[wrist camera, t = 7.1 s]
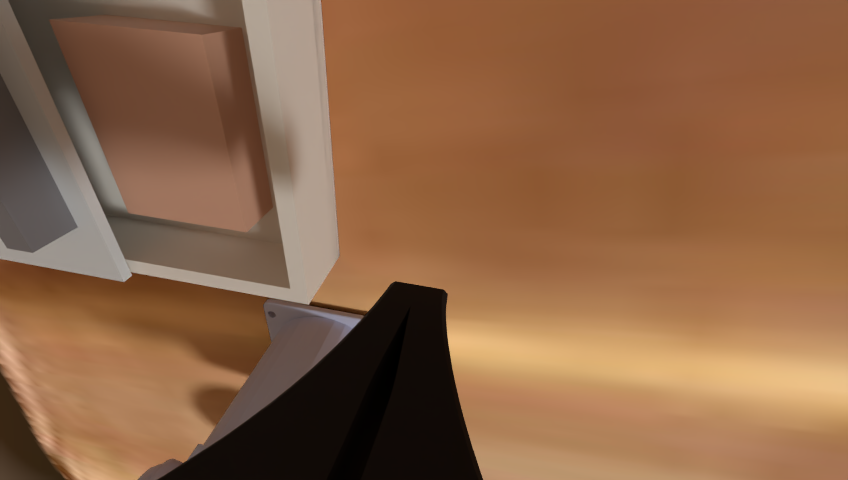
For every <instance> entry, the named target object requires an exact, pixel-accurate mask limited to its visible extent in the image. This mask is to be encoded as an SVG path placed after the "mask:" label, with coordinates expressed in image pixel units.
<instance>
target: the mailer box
mask: <svg viewBox="0 0 848 480" xmlns="http://www.w3.org/2000/svg"><path fill="white" fill-rule="evenodd" d="M8 1H9V4H10V6H11V8H12V10H13V12H14V15H15V17H16V19H17V21H18V24H19V26H20V28H21V30H22V32H23V35H24V37H25V39H26V41H27V43H28V46H29V48H30V50H31V52H32V55H33V57H34V59H35V61H36V63H37V66H38V68H39V70H40V72H41V74H42V77H43V79H44V81H45V83H46V86H47V88H48V90H49V92H50V94H51V97H52V99H53V101H54V103H55V106H56V108H57V110H58V112H59V114H60V117H61V119H62V121H63V123H64V125H65V128H66V130H67V132H68V134H69V137H70V139H71V141H72V143H73V145H74V148H75V150H76V152H77V154H78V156H79V159H80V161H81V163H82V165H83V168H84V170H85V172H86V174H87V176H88V179H89V181H90V183H91V185H92V188H93V190H94V192H95V194H96V196H97V199H98V201H99V203H100V205H101V207H102V210H103V212H104V214H105V216H106V219H107V221H108V223H109V225H110V227H111V230H112V232H113V234H114V236H115V238H116V241H117V243H118V245H119V247H120V250H121V252H122V254H123V256H124V258H125V261H126V263H127V265H128V267H129V270H130V272H133V273H138V274H144V275H149V276H155V277H160V278H165V279H171V280H176V281H182V282H187V283H193V284H198V285H204V286H209V287H215V288H220V289H225V290H231V291H236V292H242V293H247V294H253V295H258V296H264V297H269V298H275V299H280V300H285V301H291V302H296V303H302V304H307V305H309V303H310V302H311V300H312V299H313V297H314V295H315V294H316V292H317V291H318V289H319V288H320V286H321V284H322V283H323V281H324V280H325V278H326V276H327V275H328V273H329V272H330V270H331V269H332V267H333V265H334V264H335V262H336V261H337V259H338V257H339V242H338V228H337V215H336V201H335V187H334V174H333V160H332V146H331V133H330V119H329V105H328V92H327V78H326V64H325V51H324V37H323V23H322V9H321V0H8Z"/></svg>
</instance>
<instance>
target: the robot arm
mask: <svg viewBox="0 0 848 480" xmlns="http://www.w3.org/2000/svg"><path fill="white" fill-rule="evenodd" d="M447 295H448V294H447V293H446V292H445V291H444V290H443V289H437V288H431V287H425V286H419V285H414V284H408V283H402V282H396V281H395V282H394V283H392V284H391V285H390V286H389V287H388V289H387V290H386V291H385V292H384V294H383V295H382V296H381V297H380V299H379V300H378V301H377V302H376V303H375V305H374V306H373V307H372V308H371V309H370V310H369V311H368V313H367V314H366V315H365V316H363V315H358V314H352V313H347V312H341V311H336V310H330V309H325V308H320V307H314V306H309V305H303V304H298V303H292V302H287V301H281V300H276V299H267V300H266V302H265V303H264V304H263V307H264V312H265V316H266V320H267V325H268V329H269V334H270V338H271V344H270V346H269V347H268V349H267V350H266V352H265V353H264V355H263V356H262V358H261V359H260V361H259V362H258V364H257V365H256V367H255V368H254V370H253V371H252V373H251V374H250V376H249V377H248V379H247V380H246V382H245V383H244V385H243V386H242V388H241V389H240V391H239V392H238V394H237V395H236V397H235V398H234V400H233V401H232V403H231V404H230V406H229V407H228V409H227V410H226V412H225V413H224V415H223V416H222V418H221V419H220V421H219V422H218V424H217V425H216V427H215V428H214V430H213V431H212V433H211V434H210V436H209V437H208V439H207V440H206V442H205V443H204V445H202V444H198V445H197V447H196V448H195V450H194V451H193V452H192V454H191V455H190V457H189V458H188V460H187V461H186V462H184V463H182V462H180V461H178V460H176V459H169V460H167V461H166V462H164V463H162V464H159V465H156V466H154V467H151V468H149V469H148V470H147V471H146V472H145V473H144V474H143V475H142V476H141V477H140V478H139V479H138V480H483V478H482V475H481V472H480V469H479V466H478V463H477V460H476V457H475V454H474V451H473V448H472V445H471V441H470V438H469V434H468V431H467V428H466V424H465V421H464V417H463V413H462V410H461V406H460V402H459V397H458V393H457V389H456V384H455V380H454V375H453V370H452V364H451V358H450V352H449V346H448V338H447V327H446V303H447Z"/></svg>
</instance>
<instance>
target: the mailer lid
mask: <svg viewBox="0 0 848 480" xmlns="http://www.w3.org/2000/svg"><path fill="white" fill-rule="evenodd" d="M0 259H4V260H9V261H14V262H20V263H25V264H30V265H36V266H41V267H47V268H52V269H57V270H63V271H68V272H73V273H79V274H84V275H89V276H95V277H100V278H105V279H111V280H116V281H121V282H125V281H126V280H127V279H128V278H130V277H131V276H132V274H131V272H130V270H129V267H128V265H127V263H126V261H125V258H124V256H123V254H122V252H121V250H120V247H119V245H118V243H117V241H116V238H115V236H114V234H113V232H112V230H111V227H110V225H109V223H108V221H107V219H106V216H105V214H104V212H103V210H102V207H101V205H100V203H99V201H98V199H97V196H96V194H95V192H94V190H93V188H92V185H91V183H90V181H89V179H88V176H87V174H86V172H85V170H84V168H83V165H82V163H81V161H80V159H79V156H78V154H77V152H76V150H75V148H74V145H73V143H72V141H71V139H70V137H69V134H68V132H67V130H66V128H65V125H64V123H63V121H62V119H61V117H60V114H59V112H58V110H57V108H56V106H55V103H54V101H53V99H52V97H51V94H50V92H49V90H48V88H47V86H46V83H45V81H44V79H43V77H42V74H41V72H40V70H39V68H38V66H37V63H36V61H35V59H34V57H33V55H32V52H31V50H30V48H29V46H28V43H27V41H26V39H25V37H24V35H23V32H22V30H21V28H20V26H19V24H18V21H17V19H16V17H15V15H14V12H13V10H12V8H11V6H10V4H9V1H8V0H0Z"/></svg>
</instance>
